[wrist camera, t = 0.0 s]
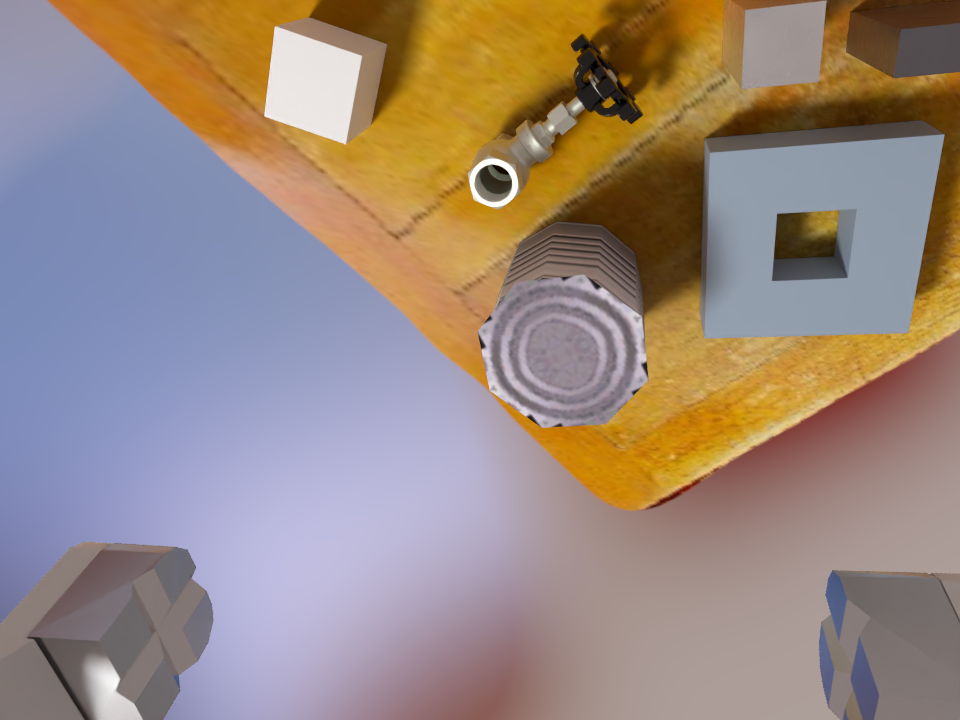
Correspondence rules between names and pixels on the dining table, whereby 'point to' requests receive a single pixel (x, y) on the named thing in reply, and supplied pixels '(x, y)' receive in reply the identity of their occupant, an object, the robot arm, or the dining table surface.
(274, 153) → the dining table surface
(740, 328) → the bore block
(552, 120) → the valve
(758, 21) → the square bit
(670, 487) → the dining table surface
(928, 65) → the dark grey rectangular slab
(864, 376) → the dining table surface
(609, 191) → the dining table surface
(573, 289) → the can
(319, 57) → the white cube
